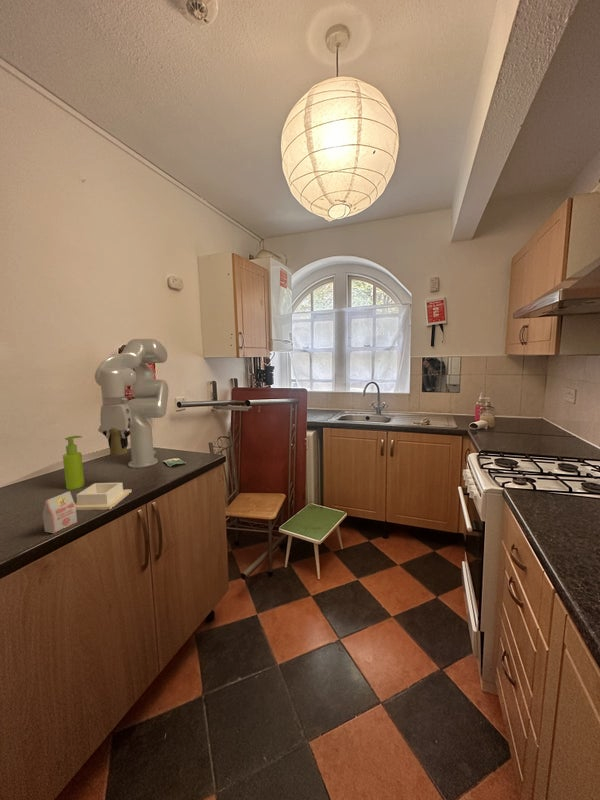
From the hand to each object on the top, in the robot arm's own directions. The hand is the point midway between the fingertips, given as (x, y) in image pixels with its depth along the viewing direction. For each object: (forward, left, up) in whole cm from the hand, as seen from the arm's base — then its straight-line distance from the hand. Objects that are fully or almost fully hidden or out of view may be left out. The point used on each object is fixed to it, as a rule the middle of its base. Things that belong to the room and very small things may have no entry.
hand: (118, 447), depth 122 cm
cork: (0, 0, -3) cm, 3 cm away
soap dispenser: (0, -18, -16) cm, 24 cm away
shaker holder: (+14, 0, -16) cm, 21 cm away
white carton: (+32, -1, -16) cm, 35 cm away
